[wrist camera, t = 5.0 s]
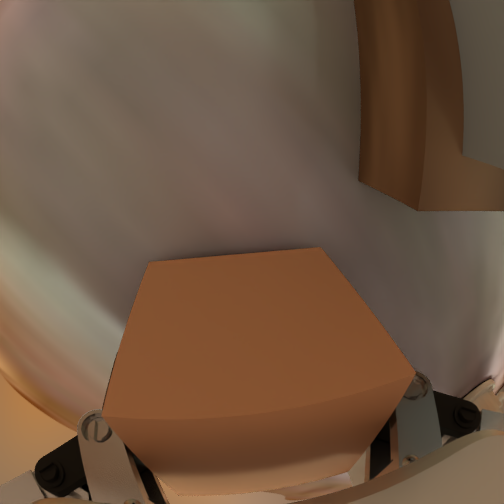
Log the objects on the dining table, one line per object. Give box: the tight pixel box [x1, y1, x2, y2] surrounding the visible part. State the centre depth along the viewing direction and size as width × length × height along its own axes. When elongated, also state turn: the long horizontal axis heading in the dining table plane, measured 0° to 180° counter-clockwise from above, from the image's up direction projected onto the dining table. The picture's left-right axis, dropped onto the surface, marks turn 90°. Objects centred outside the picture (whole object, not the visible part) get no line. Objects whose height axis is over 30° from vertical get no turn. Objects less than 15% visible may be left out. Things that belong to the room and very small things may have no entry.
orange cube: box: [101, 247, 416, 496], centre depth 8 cm, size 6×6×6 cm
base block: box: [354, 0, 504, 211], centre depth 6 cm, size 12×12×4 cm
